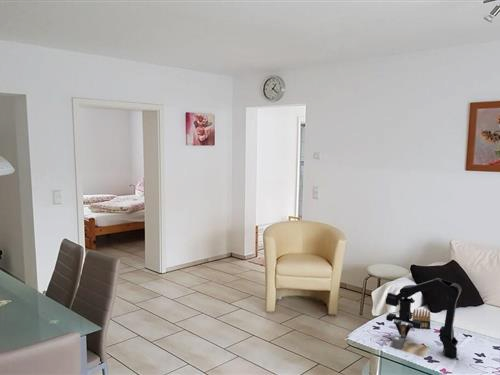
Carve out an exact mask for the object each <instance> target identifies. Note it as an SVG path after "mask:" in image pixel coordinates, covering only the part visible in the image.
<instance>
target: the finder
mask: <svg viewBox="0 0 500 375" xmlns="http://www.w3.org/2000/svg"><path fill="white" fill-rule="evenodd" d="M404 340H405V339H404V338H401V337H400V336H396V335H395V336H394V337H392V340H391V344H392V347H394V348H393V349H395V348H397V349H396V350H398V349H400V350H399V351H402V350H401V349H402V348H403V347H404ZM392 347H391V348H392Z"/></svg>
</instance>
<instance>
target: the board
mask: <svg viewBox="0 0 500 375" xmlns="http://www.w3.org/2000/svg"><path fill="white" fill-rule="evenodd" d="M388 347H389V348H392V349H396V350H399V351H401V352H402V351H403V352H406V353H408V354H411V355H415V356H417V357H421V358H424V357H425V355H426V354H427V352H429V350H430V349H431V347H429V346H426V345H423V344H420V343H416V342H413V341H410V340H405V339H404V347H403V348H402V349H401V350H400V349H397V348H394V347H392V343H391V344H390V345H388Z"/></svg>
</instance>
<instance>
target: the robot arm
mask: <svg viewBox="0 0 500 375" xmlns="http://www.w3.org/2000/svg"><path fill="white" fill-rule="evenodd" d="M434 288H438V289H440V290H442V291H443V292H444V293H446V296H447V305H446V306H447V307H446V312H445V320H444V325H442V326H441V327H440V329H439V335H438V338H439V341H440V342H441V344H442V346H443V347H442V354H443V356H444V357H447V358H449V359H455V361H459V358H458V357H457V356H458V355H457V354H458V352H457V351H458V348H457V345H458V343H459V341H458V339H456V337H455V331H454V322H455V316H456V309H457V302H458V299H459V297H460V295H461V292H462V287H461V285H460V284H458V283H456V282H451V281H449V280H445V279H443V278H441V277H436V278H434V279H431V280H427V281H425V282H421V283H417V284H409V285H404V286H403V287H402V288H400V289H399V293H398V294H395V293H392V292H388V293H387V296H386V298H385V304H386V305H388V306H392V307H398V306H399V310H398V316H397V314H396V313H392V312H389V313H388V314H387V315H386V316H385V319H386V321H387V322H393V324H394V325H395V327H396V329H397V331H398V334H399V335H400V334H401V325H402V323H406V324H407V326H406V337H407V336H408V334H409V333H410V330H411V329H418V330H420V328H421V327H422V326H423V322H422V321H419V320H415V321H412V319H413V312H412V311H411V310H412V309H411V307H412V306H411V305H412V304H414V303H415V301H416V300H415V299H413V297H412V296H413V295H416V294H417V293H420V292H423V291H427V290H430V289H434ZM410 297H411V298H410ZM413 327H414V328H413Z"/></svg>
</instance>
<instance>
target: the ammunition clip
mask: <svg viewBox="0 0 500 375" xmlns="http://www.w3.org/2000/svg"><path fill="white" fill-rule="evenodd" d="M430 310H431V309H429V310H427V309H423V310H422V309H421V308H420V309H417V310H416V308H414V309H413V312H412V313H413V316H412V318H411V321H415V320H419V321H422V322H423V326H422V327H421V328H420V329H421V330H431V311H430ZM412 329H415V328H414V327H413V328H412ZM420 329H419V330H420Z"/></svg>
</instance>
